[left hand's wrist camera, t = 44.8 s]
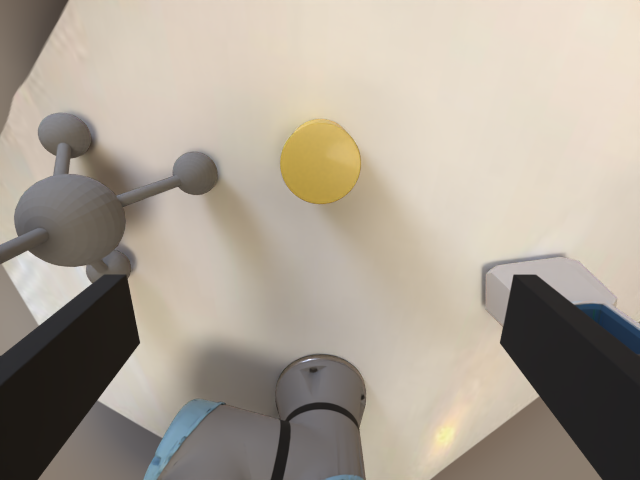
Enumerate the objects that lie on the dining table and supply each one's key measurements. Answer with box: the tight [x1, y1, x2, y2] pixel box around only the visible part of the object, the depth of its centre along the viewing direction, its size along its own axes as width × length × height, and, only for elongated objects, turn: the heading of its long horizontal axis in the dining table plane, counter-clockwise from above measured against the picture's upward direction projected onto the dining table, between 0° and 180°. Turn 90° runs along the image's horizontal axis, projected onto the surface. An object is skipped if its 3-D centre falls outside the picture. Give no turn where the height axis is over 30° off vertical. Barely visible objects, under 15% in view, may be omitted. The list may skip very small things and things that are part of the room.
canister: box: [280, 119, 361, 204], centre depth 46 cm, size 9×9×10 cm
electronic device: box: [486, 257, 640, 354], centre depth 42 cm, size 12×8×30 cm, turn 99°
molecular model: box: [0, 113, 217, 283], centre depth 38 cm, size 24×22×30 cm
